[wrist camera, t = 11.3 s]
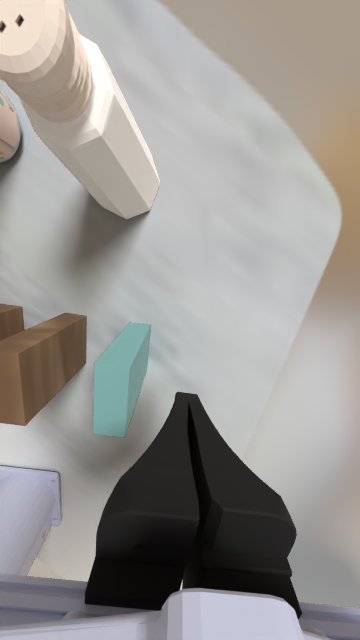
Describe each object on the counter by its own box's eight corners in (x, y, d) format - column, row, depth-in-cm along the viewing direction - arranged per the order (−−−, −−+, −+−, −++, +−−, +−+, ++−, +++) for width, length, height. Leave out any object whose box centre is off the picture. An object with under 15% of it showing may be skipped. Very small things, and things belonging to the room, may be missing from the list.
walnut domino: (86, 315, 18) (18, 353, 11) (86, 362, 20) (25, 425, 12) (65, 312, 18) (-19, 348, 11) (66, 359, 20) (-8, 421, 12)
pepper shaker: (77, 178, 15) (-161, -14, 5) (125, 121, 14) (-43, -301, 4) (127, 234, 16) (27, 181, 6) (175, 184, 15) (160, 7, 5)
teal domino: (127, 368, 20) (93, 434, 12) (130, 322, 18) (94, 363, 11) (146, 370, 20) (124, 437, 12) (151, 324, 19) (129, 368, 11)
